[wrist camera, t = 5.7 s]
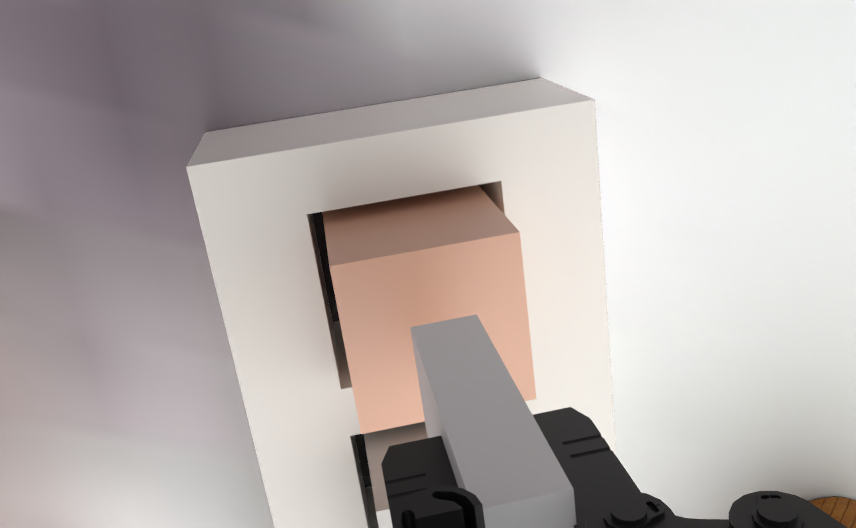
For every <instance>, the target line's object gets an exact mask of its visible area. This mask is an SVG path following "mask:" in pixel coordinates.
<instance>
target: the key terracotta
mask: <svg viewBox="0 0 856 528" xmlns="http://www.w3.org/2000/svg"><path fill="white" fill-rule="evenodd" d="M322 213H323V221H324V228H325V236H326V244H327V252H328V259H329V267H330V272H331V277H332V283H333V288H334V293H335V298H336V304H337V309H338V314H339V320H340V325H341V330H342V335H343V341H344V346H345V351H346V356H347V362H348V367H349V372H350V378H351V383H352V388H353V393H354V399H355V404H356V409H357V415H358V420H359V425H360V430H361V434H365V433H370V432H375V431H380V430H385V429H390V428H395V427H400V426H405V425H410V424H415V423H420V422H425V419H424V413H423V406H422V400H421V393H420V387H419V381H418V374H417V368H416V361H415V355H414V349H413V342H412V336H411V329H410V327H414V326H419V325H424V324H429V323H435V322H440V321H445V320H450V319H456V318H461V317H466V316H471V315H476V314H477V316H478V318H479V319H480V321H481V323H482V325H483V327H484V328H485V330H486V332H487V334H488V336H489V337H490V339H491V341H492V343H493V345H494V346H495V348H496V350H497V352H498V354H499V356H500V357H501V359H502V361H503V363H504V365H505V366H506V368H507V370H508V372H509V374H510V375H511V377H512V379H513V381H514V383H515V384H516V386H517V388H518V390H519V392H520V393H521V395H522V397H523V399H524V401H529V400H533V399H536V390H535V380H534V370H533V360H532V350H531V340H530V329H529V319H528V309H527V299H526V289H525V279H524V269H523V259H522V249H521V239H520V232H519V231H518V229H517V228H516V227H515V226H514V225H513V224H512V223H511V222H510V220H509V219H508V218H507V217H506V216H505V215H504V214H503V212H502V211H501V210H500V209H499V208H498V207H497V206H496V205H495V203H494V202H493V201H492V200H491V199H490V198H489V197H488V196H487V194H486V193H485V192H484V191H483V190H482V189H481V188H480V187H479V185H474V186H468V187H462V188H456V189H451V190H445V191H439V192H433V193H427V194H422V195H416V196H410V197H404V198H399V199H393V200H387V201H381V202H376V203H370V204H364V205H358V206H352V207H347V208H341V209H335V210H329V211H324V212H322Z"/></svg>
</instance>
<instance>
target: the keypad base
mask: <svg viewBox="0 0 856 528" xmlns="http://www.w3.org/2000/svg"><path fill="white" fill-rule="evenodd" d="M186 169H187V173H188V177H189V181H190V185H191V189H192V193H193V198H194V202H195V206H196V210H197V214H198V218H199V222H200V226H201V230H202V234H203V238H204V242H205V247H206V251H207V255H208V259H209V263H210V267H211V271H212V275H213V279H214V283H215V287H216V291H217V295H218V300H219V304H220V308H221V312H222V316H223V320H224V324H225V328H226V332H227V336H228V340H229V344H230V349H231V353H232V357H233V361H234V365H235V369H236V373H237V377H238V381H239V385H240V389H241V393H242V398H243V402H244V406H245V410H246V414H247V418H248V422H249V426H250V430H251V434H252V438H253V442H254V446H255V451H256V455H257V459H258V463H259V467H260V471H261V475H262V479H263V483H264V487H265V491H266V495H267V500H268V504H269V508H270V512H271V516H272V520H273V524H274V528H379V525H378V520H377V515H376V509H375V503H374V496H373V490H372V486H371V487H366V488H365V486H364V480H363V475H362V470H361V465H360V460H359V454H358V449H357V444H356V439H355V435H358V434H361V430H360V425H359V420H358V415H357V409H356V404H355V399H354V393H353V388H352V383H351V378H350V372H349V367H348V362H347V356H346V351H345V346H344V341H343V335H342V330H341V325H340V320H339V321H334V322H333V320H332V314H331V309H330V304H329V299H328V294H327V289H326V283H325V278H324V273H323V268H322V263H321V257H320V252H319V247H318V242H317V237H316V231H315V226H314V221H313V216H312V213H318V212H324V211H329V210H335V209H341V208H347V207H352V206H358V205H364V204H370V203H376V202H381V201H387V200H393V199H399V198H404V197H410V196H416V195H422V194H427V193H433V192H439V191H445V190H451V189H456V188H462V187H468V186H474V185H479V187H480V188H481V189H482V190H483V191H484V192H485V193H486V194H487V196H488V197H489V198H490V199H491V200H492V201H493V202H494V203H495V205H496V206H497V207H498V208H499V209H500V210H501V211H502V212H503V214H504V215H505V216H506V217H507V218H508V219H509V220H510V222H511V223H512V224H513V225H514V226H515V227H516V228H517V229H518V231H519V232H520V239H521V249H522V259H523V269H524V279H525V289H526V299H527V309H528V319H529V329H530V340H531V350H532V360H533V370H534V380H535V390H536V399H533V400H529V401H525V402H526V404H527V406H528V408H529V410H530V411H531V413H532V415H534V414H538V413H543V412H548V411H553V410H558V409H563V408H568V407H572V408H573V409H575V410H577V411H579V412H580V413H582V414H584V415H585V416H587V417H589V418H590V419H591V420H592V421H593V423H594V424H595V426H596V427H597V429H598V430H599V432H600V433H601V436H602V437H603V438H604V439H605V441H606V442H607V444H608V445H609V446H610V450H612V451H613V452H614V454H615V455H616V443H615V427H614V410H613V394H612V377H611V361H610V345H609V328H608V312H607V295H606V279H605V263H604V246H603V230H602V213H601V197H600V181H599V164H598V148H597V131H596V115H595V100H594V99H592V98H590V97H587V96H585V95H582V94H580V93H577V92H575V91H573V90H570V89H568V88H565V87H563V86H560V85H558V84H556V83H553V82H551V81H548V80H546V79H543V78H538V79H532V80H526V81H519V82H513V83H507V84H501V85H494V86H488V87H482V88H476V89H470V90H463V91H457V92H451V93H445V94H439V95H432V96H426V97H420V98H414V99H408V100H401V101H395V102H389V103H383V104H377V105H370V106H364V107H358V108H352V109H346V110H339V111H333V112H327V113H321V114H315V115H308V116H302V117H296V118H290V119H283V120H277V121H271V122H265V123H259V124H252V125H246V126H240V127H234V128H228V129H221V130H215V131H209V132H205V133H204V135H203V137H202V139H201V141H200V142H199V144H198V146H197V148H196V150H195V152H194V153H193V155H192V157H191V159H190V161H189V162H188V164H187V166H186Z"/></svg>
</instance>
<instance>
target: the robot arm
mask: <svg viewBox="0 0 856 528" xmlns="http://www.w3.org/2000/svg"><path fill="white" fill-rule="evenodd" d="M410 329H411V336H412V342H413V349H414V355H415V361H416V368H417V374H418V381H419V387H420V393H421V400H422V406H423V413H424V419H425V425H426V432H427V436H428V438H426V439H422V440H417V441H412V442H407V443H402V444H397V445H393V446H389V448H388V450H387V452H386V454H385V457H384V459H383V461H382V463H381V466H382V472H383V477H384V483H385V488H386V494H387V499H388V504H389V510H390V515H391V521H392V526H393V528H848V527H846V526H845V525H843V524H842V523H840V522H839V521H837V520H836V519H834V518H833V517H831V516H830V515H828V514H827V513H825V512H824V511H822V510H821V509H819V508H818V507H816V506H815V505H813V504H812V503H810V502H808V501H806V500H804V499H802V498H800V497H798V496H796V495H791V494H787V493H783V492H778V491H758V492H754V493H750V494H747V495H744V496H742V497H741V498H739V499H738V500H736V501H735V502H733V504H732V507H731V509H730V511H729V520H720V519H691V518H683V517H679V516H675V515H674V513H673V512H672V510H671V509H670V508H669V507H668V506H667V505H666V504H664V503H663V502H662V501H661V500H660V499H657V498H655V497H653V496H651V495H648V494H646V493H641V492H640V490H639V489H638V488H637V486H636V485H635V483H634V482H633V480H632V479H631V477H630V476H629V474H628V473H627V471H626V470H625V468H624V467H623V466H622V464H621V463H620V461H619V460H618V458H617V457H616V455H615V454H614V452H613V451H612V450H610V446H609V445H608V444H607V442H606V441H605V439H604V438H603V437H602V436H601V433H600V432H599V430H598V429H597V427H596V426H595V424H594V423H593V421H592V420H591V419H590V418H589V417H587V416H585V415H584V414H582V413H580V412H579V411H577V410H575V409H573V408H572V407H568V408H563V409H558V410H553V411H548V412H543V413H538V414H534V415H532V413H531V411H530V410H529V408H528V406H527V404H526V402H525V401H524V399H523V397H522V395H521V393H520V392H519V390H518V388H517V386H516V384H515V383H514V381H513V379H512V377H511V375H510V374H509V372H508V370H507V368H506V366H505V365H504V363H503V361H502V359H501V357H500V356H499V354H498V352H497V350H496V348H495V346H494V345H493V343H492V341H491V339H490V337H489V336H488V334H487V332H486V330H485V328H484V327H483V325H482V323H481V321H480V319H479V318H478V316H477V314H476V315H471V316H466V317H461V318H456V319H450V320H445V321H440V322H435V323H429V324H424V325H419V326H414V327H410Z"/></svg>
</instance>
